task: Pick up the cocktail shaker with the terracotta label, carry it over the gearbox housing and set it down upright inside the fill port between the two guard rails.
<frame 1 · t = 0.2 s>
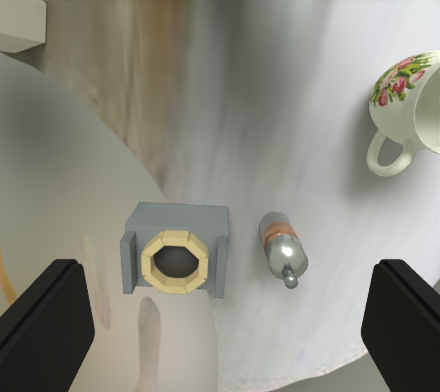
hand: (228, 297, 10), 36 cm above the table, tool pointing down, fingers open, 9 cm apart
jar: (16, 16, 39), on the table
pitcher: (389, 104, 43), on the table
cocktail shaker: (274, 226, 49), on the table
gearbox: (183, 232, 50), on the table
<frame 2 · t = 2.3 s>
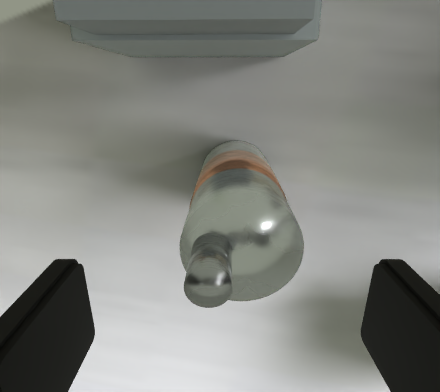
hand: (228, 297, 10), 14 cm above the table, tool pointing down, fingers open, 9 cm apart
cocktail shaker: (235, 174, 22), on the table
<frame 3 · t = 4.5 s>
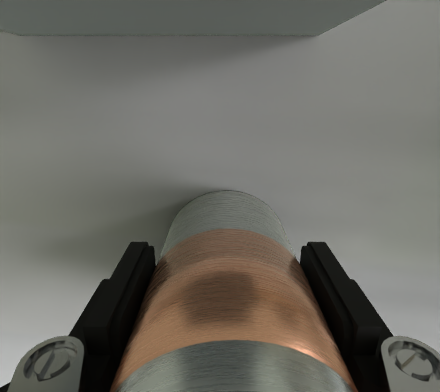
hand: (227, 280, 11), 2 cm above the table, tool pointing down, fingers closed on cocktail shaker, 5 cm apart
cocktail shaker: (226, 245, 13), on the table, touching gripper
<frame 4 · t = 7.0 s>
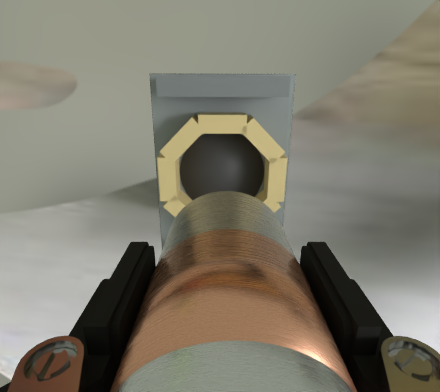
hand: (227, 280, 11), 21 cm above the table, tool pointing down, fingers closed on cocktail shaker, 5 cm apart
cocktail shaker: (226, 246, 13), point 19 cm above the table, touching gripper
gearbox: (221, 151, 30), on the table
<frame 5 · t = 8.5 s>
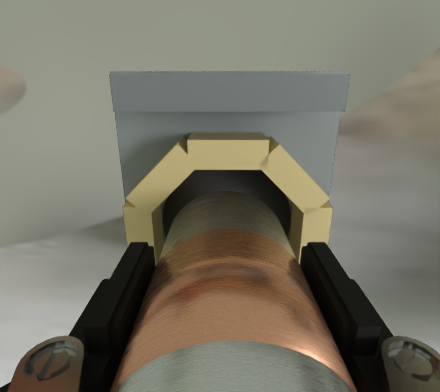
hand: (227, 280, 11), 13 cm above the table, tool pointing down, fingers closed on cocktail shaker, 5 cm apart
cocktail shaker: (226, 246, 13), point 10 cm above the table, touching gripper
gearbox: (224, 176, 23), on the table
when the fingers open (12 cm above the table, at t = 9.5 s): cocktail shaker drops 1 cm, resting on gearbox.
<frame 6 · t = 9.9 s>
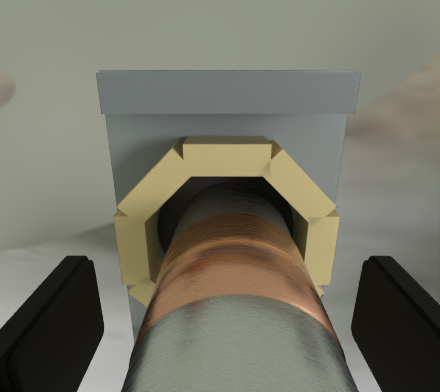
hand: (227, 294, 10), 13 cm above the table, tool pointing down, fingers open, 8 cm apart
cocktail shaker: (230, 232, 14), point 8 cm above the table, touching gearbox
gearbox: (223, 180, 22), on the table
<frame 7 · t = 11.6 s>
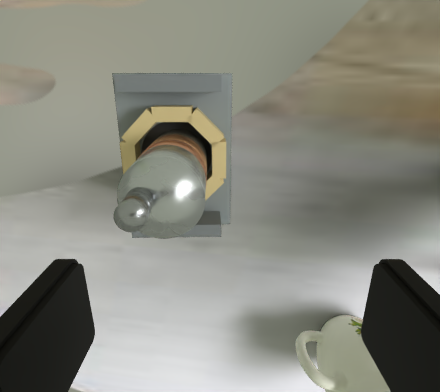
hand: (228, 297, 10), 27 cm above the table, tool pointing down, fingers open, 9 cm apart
pitcher: (335, 329, 46), on the table
cocktail shaker: (179, 156, 27), point 8 cm above the table, touching gearbox
gearbox: (183, 140, 35), on the table
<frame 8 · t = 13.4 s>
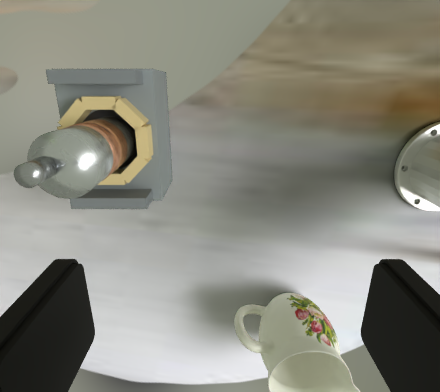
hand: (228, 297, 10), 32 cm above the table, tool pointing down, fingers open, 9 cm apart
pitcher: (281, 306, 50), on the table
cocktail shaker: (112, 140, 32), point 8 cm above the table, touching gearbox
gearbox: (131, 129, 40), on the table
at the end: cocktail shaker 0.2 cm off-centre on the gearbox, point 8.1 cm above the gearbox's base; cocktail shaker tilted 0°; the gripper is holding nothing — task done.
